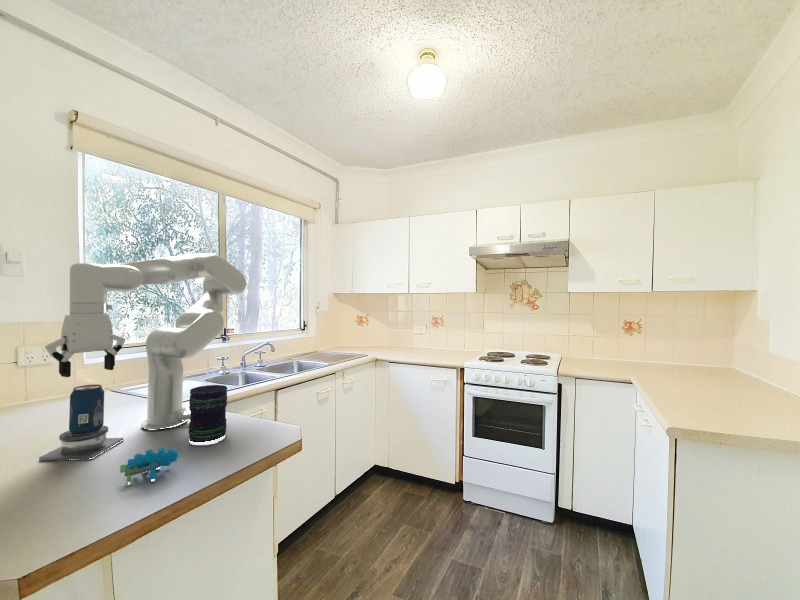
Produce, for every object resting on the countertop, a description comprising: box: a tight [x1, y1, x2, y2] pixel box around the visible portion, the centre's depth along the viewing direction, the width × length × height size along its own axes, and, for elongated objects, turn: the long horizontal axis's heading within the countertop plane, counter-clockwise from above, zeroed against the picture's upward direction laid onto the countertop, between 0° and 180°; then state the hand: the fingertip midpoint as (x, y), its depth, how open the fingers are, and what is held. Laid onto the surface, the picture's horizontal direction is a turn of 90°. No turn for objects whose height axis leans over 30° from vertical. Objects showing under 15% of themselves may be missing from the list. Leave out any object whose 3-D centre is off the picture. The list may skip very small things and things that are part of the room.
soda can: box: [68, 384, 105, 435], centre depth 95 cm, size 7×7×12 cm
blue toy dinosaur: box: [119, 447, 180, 483], centre depth 81 cm, size 11×6×10 cm
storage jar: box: [187, 384, 228, 442], centre depth 104 cm, size 10×10×15 cm
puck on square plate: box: [38, 425, 124, 462], centre depth 95 cm, size 12×12×5 cm
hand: (88, 372), depth 95 cm, fingers open, 9 cm apart
